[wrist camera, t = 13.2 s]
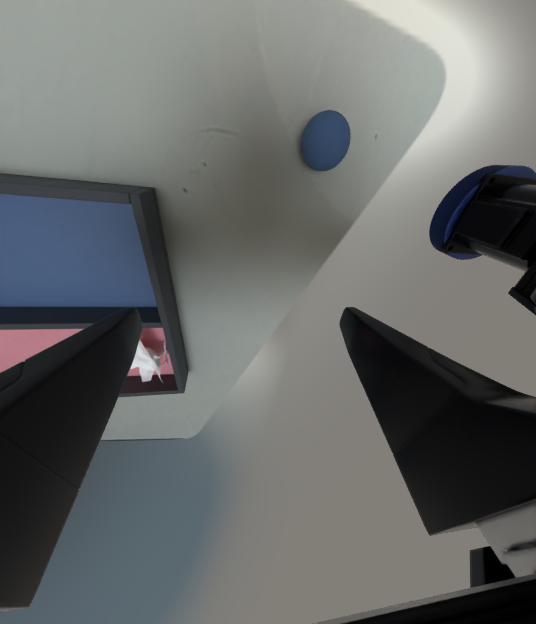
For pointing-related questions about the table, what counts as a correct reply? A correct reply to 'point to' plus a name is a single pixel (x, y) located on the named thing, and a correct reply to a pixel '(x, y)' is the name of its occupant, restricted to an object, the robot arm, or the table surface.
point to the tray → (85, 271)
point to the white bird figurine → (148, 361)
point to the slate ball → (325, 140)
